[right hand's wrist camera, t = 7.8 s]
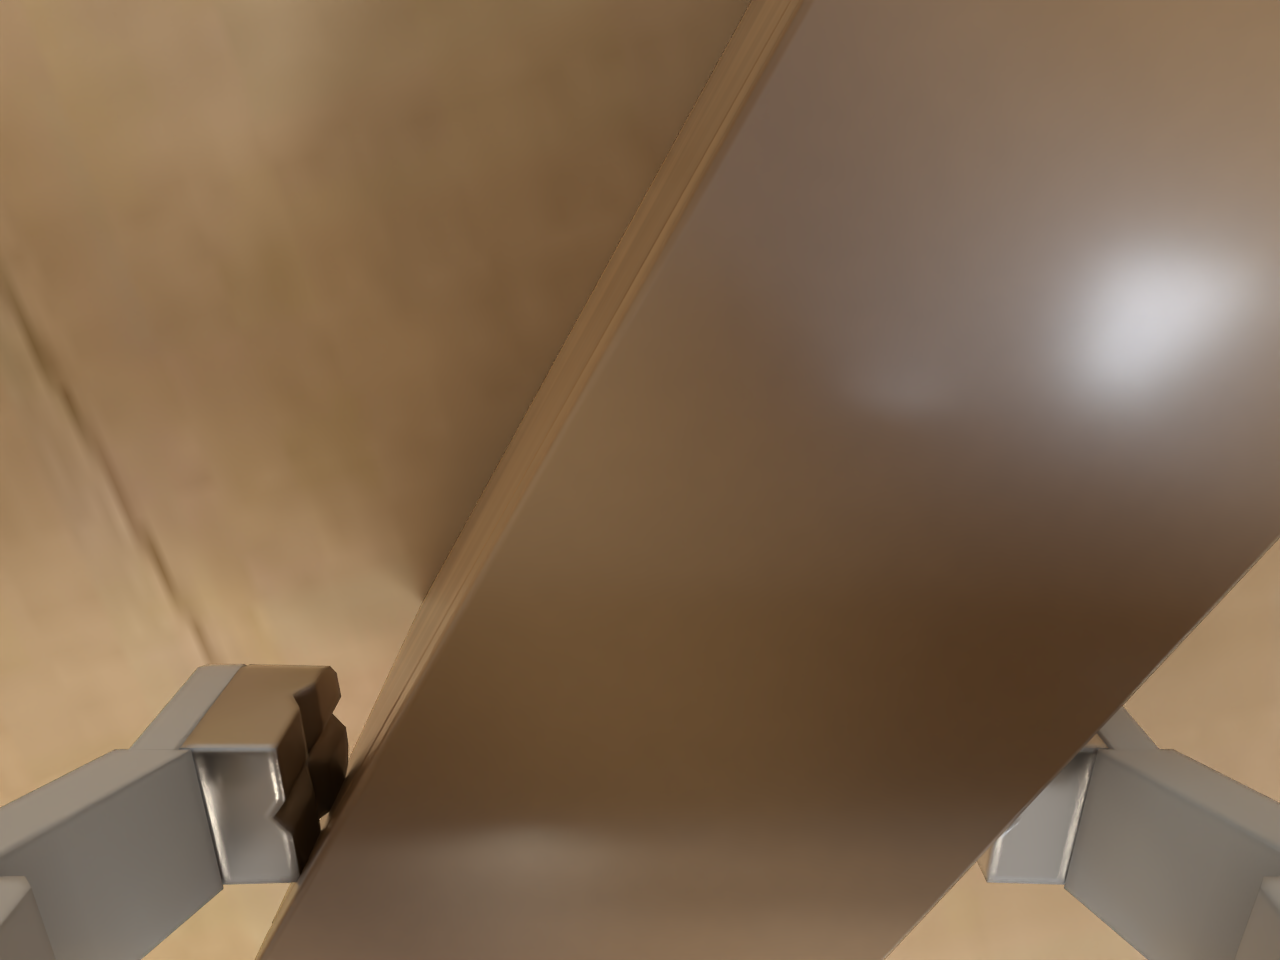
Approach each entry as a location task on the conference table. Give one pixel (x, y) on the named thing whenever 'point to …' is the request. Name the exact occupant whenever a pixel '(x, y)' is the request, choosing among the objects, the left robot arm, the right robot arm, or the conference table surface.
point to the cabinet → (840, 494)
